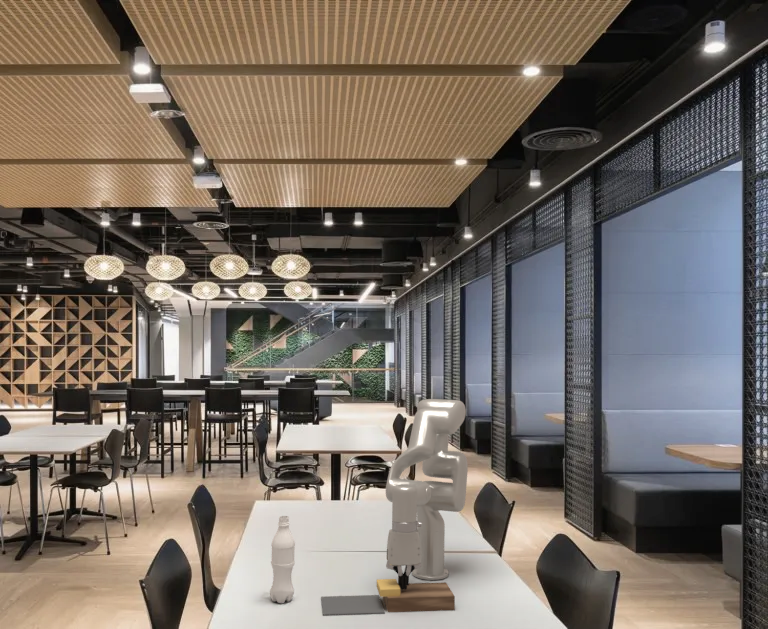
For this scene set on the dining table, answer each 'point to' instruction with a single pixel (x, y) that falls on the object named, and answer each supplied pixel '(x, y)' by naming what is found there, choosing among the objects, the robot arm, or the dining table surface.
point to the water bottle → (282, 562)
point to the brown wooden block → (421, 598)
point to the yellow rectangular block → (388, 587)
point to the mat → (352, 605)
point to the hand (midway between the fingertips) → (403, 587)
